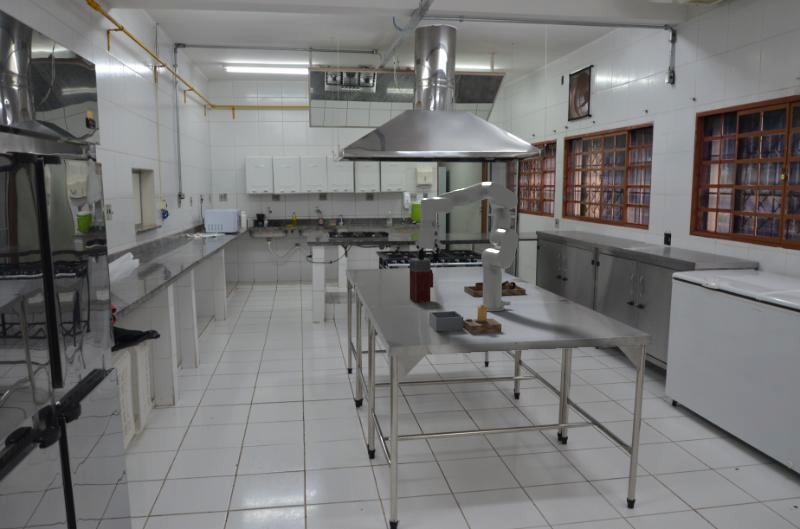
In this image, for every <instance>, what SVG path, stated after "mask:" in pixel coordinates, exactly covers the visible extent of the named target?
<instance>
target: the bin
mask: <svg viewBox="0 0 800 529" xmlns="http://www.w3.org/2000/svg"><path fill="white" fill-rule="evenodd" d="M428 315H429V316H428V317H429V318H428V323H429V324H428V326H430V327H431V329H432V330H433V331H435V332H436V331H443V332H457V331H460V330H461V331H464V328H463V320H464V316H462V315H461V314H460V313H459V312H457V311H456V310H448V311H447V310H446V311H429V312H428ZM461 331H460V332H461Z"/></svg>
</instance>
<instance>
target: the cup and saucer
mask: <svg viewBox="0 0 800 529" xmlns="http://www.w3.org/2000/svg"><path fill="white" fill-rule="evenodd" d="M474 286H475V289H473V291H483V281H481V282H476V283H475V285H474Z"/></svg>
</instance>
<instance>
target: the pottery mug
mask: <svg viewBox="0 0 800 529" xmlns="http://www.w3.org/2000/svg"><path fill="white" fill-rule="evenodd" d="M506 285H508V286H509V287H510V289H511V290H514V289H515V287H516V285H517V284H516V283H515V282H514V281H511V282H509V281H508V280H506V281H504V282H503V281H502V287H506Z"/></svg>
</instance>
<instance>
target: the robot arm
mask: <svg viewBox="0 0 800 529" xmlns="http://www.w3.org/2000/svg"><path fill="white" fill-rule="evenodd" d="M483 200H488V203H489V206H490V207H491V208H492V211H493V214H494V219H493V223H492V228H491V231H490V234H489V242H490V244H491V245H492V246H496V247H489V248H486V249H484V251H483V252H482V253H481V264H482V283H483V296H482V304H483V305H484V306H487V312H501V311H504V310H505V306H511V301H505V300H502V296H503V295H502V283H503V274H502V270H503V269H504V270H505V269H508V268H510V267H511V266H512V264H513V262H514V260H515V256H516V252H517V249H518V244H519V234H518V232H517V231H516V230H515V229H513V228H510V227H511V224H512V223H511V222H512V215H511V212H510V210H513V209H516V207H517V206H518V203H519V198H518V196H517V194H516V193H515V192H513V191H512V190H510V189H509V188H507V187H506V186H504V185H502V184H501V183H499V182H496V181H482V182H478V183H475V184H473V185H469V186H467V187H463V188H461V189H460V188H459V189H456V190H453V191H450V192H449V191H448V192H445V193H442V194H441V193H440V194H439V195H436V196H433V197H431V198H430V197H427V198H426V197H425V198H421V200H420V228H419V232H418V240H416V241H414V242H415V243H414V244H415V246H416V249H417V251H418V252H419V260H424V258H425V251H424V250H425V249H427V250H428V249H429V250H432V252H433V253H432V256H433V257H432V262H433V263H437V262H439V261H440V260H439V259H440V258H439V257H440V256H439V254H440V253H441V251H442V248H443V243H442V242H440V232H439V228H438V227H437V226H438V223H437V221H438V220H437V219H438V218H437V214H442V215H443V214H444V215H445V214H449V213H451V212H452V211H453V209H454V207H466V206H470V205H473V204H475V203H477V202H478V203H479V202H481V201H483ZM498 247H500V248H498Z"/></svg>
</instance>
